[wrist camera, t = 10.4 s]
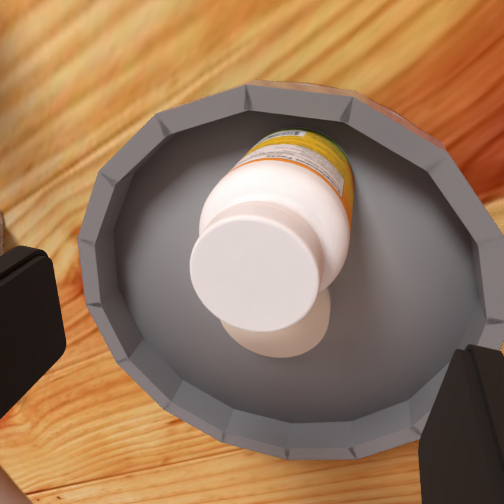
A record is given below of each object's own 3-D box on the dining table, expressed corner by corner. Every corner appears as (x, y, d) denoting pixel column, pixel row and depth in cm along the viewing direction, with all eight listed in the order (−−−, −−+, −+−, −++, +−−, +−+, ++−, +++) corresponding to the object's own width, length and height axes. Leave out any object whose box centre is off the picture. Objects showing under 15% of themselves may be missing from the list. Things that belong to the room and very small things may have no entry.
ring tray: (568, 111, 18) (601, 125, 15) (426, 455, 28) (432, 498, 26) (92, 58, 22) (54, 62, 19) (120, 379, 32) (98, 409, 30)
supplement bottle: (312, 250, 23) (278, 380, 14) (226, 192, 22) (140, 289, 14) (378, 168, 20) (386, 267, 12) (282, 100, 20) (218, 152, 11)
